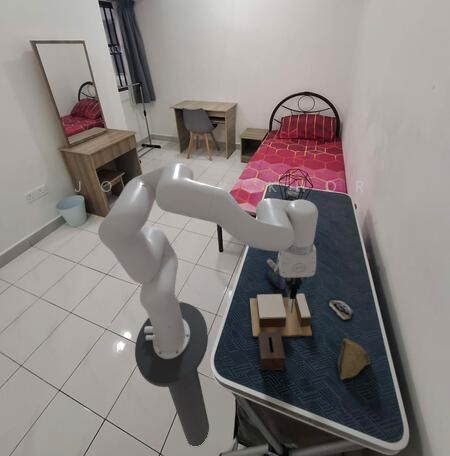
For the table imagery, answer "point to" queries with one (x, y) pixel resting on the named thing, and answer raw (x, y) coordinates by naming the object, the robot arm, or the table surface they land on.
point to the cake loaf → (271, 310)
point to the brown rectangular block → (302, 310)
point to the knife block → (271, 351)
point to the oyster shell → (341, 309)
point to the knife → (292, 293)
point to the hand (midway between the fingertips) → (293, 285)
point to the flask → (274, 275)
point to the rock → (351, 359)
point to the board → (289, 330)
